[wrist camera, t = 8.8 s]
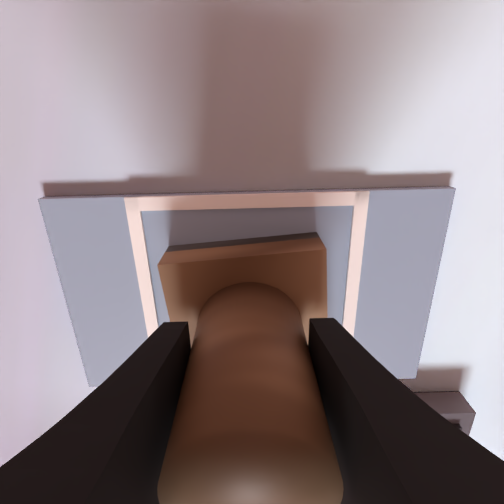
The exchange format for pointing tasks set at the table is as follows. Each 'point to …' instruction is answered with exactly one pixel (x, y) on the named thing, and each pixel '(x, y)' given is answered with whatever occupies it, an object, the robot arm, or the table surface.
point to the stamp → (249, 374)
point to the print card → (242, 227)
